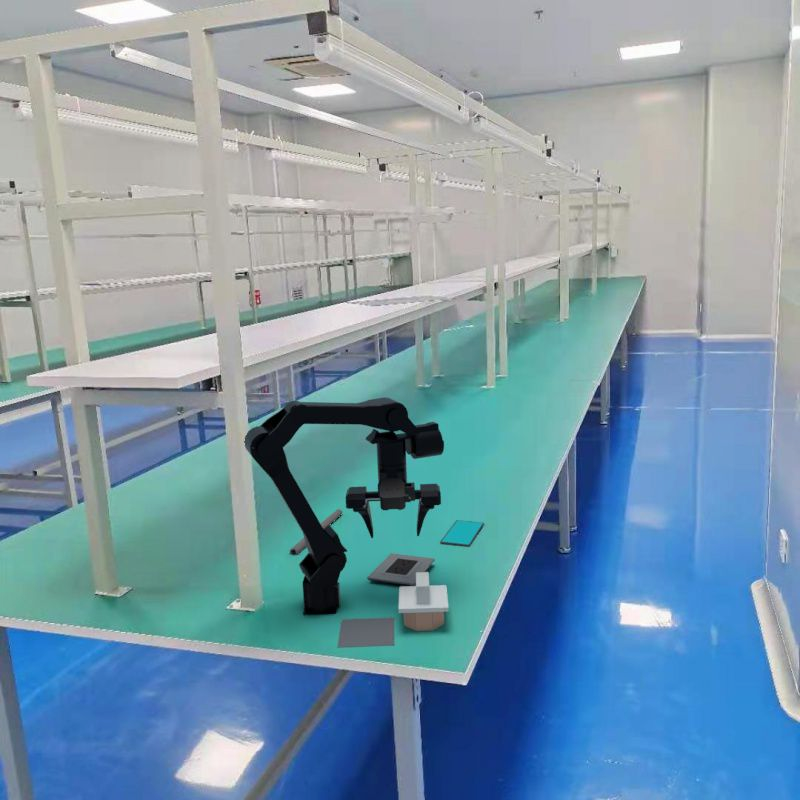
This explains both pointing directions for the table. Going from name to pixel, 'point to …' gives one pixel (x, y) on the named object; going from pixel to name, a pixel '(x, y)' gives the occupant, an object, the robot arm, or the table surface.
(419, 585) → the lid
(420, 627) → the bowl
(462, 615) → the table surface
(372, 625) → the mat
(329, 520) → the metal rod
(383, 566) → the electrical outlet
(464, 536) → the smartphone
